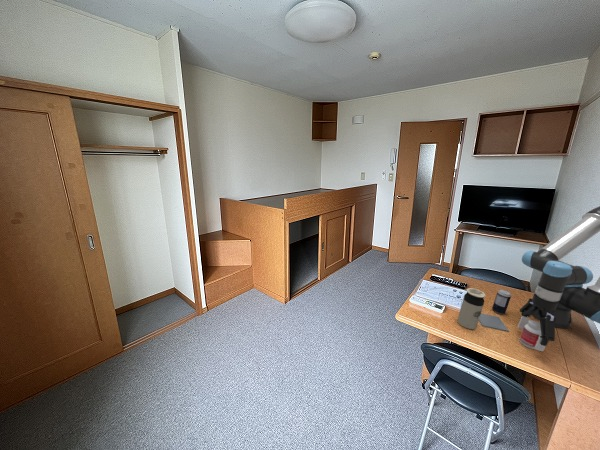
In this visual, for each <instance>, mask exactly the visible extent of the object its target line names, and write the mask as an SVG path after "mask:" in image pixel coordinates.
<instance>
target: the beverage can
mask: <svg viewBox="0 0 600 450" xmlns="http://www.w3.org/2000/svg"><path fill="white" fill-rule="evenodd" d="M511 298H512V294H511V292H510V291H507V290H505V289H499V290H498V291H497V292H496V296H495V298H494V302H493V305H492V310H493V312H494V313H497V314H499V315H504V314H506V312H507V309H508V307H509V304H510V301H511Z"/></svg>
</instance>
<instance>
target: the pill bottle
mask: <svg viewBox="0 0 600 450" xmlns="http://www.w3.org/2000/svg"><path fill="white" fill-rule="evenodd" d="M520 333H521V334H520V336H519V338H518V340H519V343H520V344H521V345H522V346H524V347H526V348H528V349H531V350H532V349H533V350H535V349H534V348H535V346H536V343H537V341H538V338H539V336H542V335H541V327H540V321H538V320H537V321H536V320H534V319H533V320H532V319H529V321H528V324H526V325H525V326H524V328H523V329H522V331H521V332H520Z"/></svg>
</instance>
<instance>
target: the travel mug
mask: <svg viewBox="0 0 600 450" xmlns="http://www.w3.org/2000/svg"><path fill="white" fill-rule="evenodd" d="M484 298H486V294H485V292H483V291H482V290H479V289H477V288H471V287H469V288H467V289H466V293H465V294H464V296H463V298H462V301H461V302H462V303H461V306H460V309H459V313H458V317H457V319H456V320H457V323H458V324H459V325H460V326H462V327H463V328H466V329H469V330H475V329H477V327H478V324H479V318H480V315H481V313H482V310H483V307H484V304H485V299H484Z"/></svg>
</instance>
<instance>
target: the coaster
mask: <svg viewBox="0 0 600 450" xmlns="http://www.w3.org/2000/svg"><path fill="white" fill-rule="evenodd" d="M478 323H480V325H481V327H482V328H483V327H484V328H488V329H493V330H497V331H503V332H508V333H509V332H510V330H509V329H508V327H507V326H506V325H505V323H504V322H503V321H502V319H501V318H500V316H496V315H491V314H486V313H482V312H481V315H480V318H479V321H478Z"/></svg>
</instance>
